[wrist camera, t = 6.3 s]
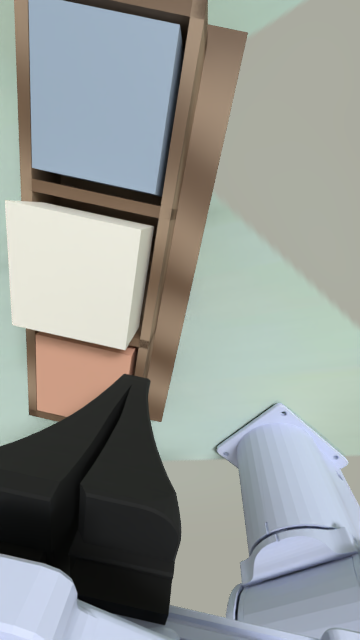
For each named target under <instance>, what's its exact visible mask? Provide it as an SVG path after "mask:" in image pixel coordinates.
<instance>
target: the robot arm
mask: <svg viewBox="0 0 360 640" xmlns="http://www.w3.org/2000/svg"><path fill="white" fill-rule="evenodd" d="M150 382H151V381H150V380H149V379H148V378H143V377H138V376H134V375H129V374H123V375H122V376H121V377H120V378H119V379H118V380H116V381H115V382H114V383H113V384H112V385H111V386H110V387H109V388H107V389H106V390H105V391H104V392H102V393H101V394H100V395H99V396H98V397H96V398H95V399H94V400H92V401H91V402H89V403H88V404H87V405H85V406H84V407H82V408H81V409H79V410H78V411H76V412H75V413H73V414H72V415H70V416H68V417H67V418H65V419H63V420H61V421H59V422H57V423H56V424H54V425H52V426H50V427H48V428H46V429H44V430H42V431H39V432H37V433H35V434H32V435H30V436H28V437H25V438H23V439H20V440H18V441H15V442H12V443H9V444H6V445H3V446H0V640H360V506H359V505H358V503H357V501H356V499H355V497H354V495H353V493H352V491H351V489H350V487H349V485H348V483H347V481H346V479H345V478H344V476H343V474H342V472H341V470H340V469H341V468H343V467H345V466H346V465H347V464H348V461H347V459H346V458H345V457H344V456H343V455H342V454H341V453H339V452H338V451H337V450H336V449H335V448H334V447H332V446H331V445H330V444H329V443H328V442H327V441H325V440H324V439H323V438H322V437H321V436H320V435H318V434H317V433H316V432H315V431H314V430H313V429H311V428H310V427H309V426H308V425H307V424H306V423H304V422H303V421H302V420H301V419H300V418H299V417H297V416H296V415H295V414H294V413H293V412H292V411H290V410H289V409H288V408H287V407H286V406H285V405H283V404H281V403H277V404H275V405H274V406H272V407H271V408H269V409H268V410H267V411H265V412H264V413H262V414H261V415H260V416H258V417H257V418H256V419H254V420H253V421H251V422H250V423H249V424H247V425H246V426H244V427H243V428H242V429H240V430H239V431H238V432H236V433H235V434H233V435H232V436H231V437H229V438H228V439H226V440H225V441H224V442H222V443H221V444H220V445H218V446H217V452H218V454H220V455H221V456H222V457H224V458H225V459H226V460H228V461H229V462H230V463H232V464H233V465H234V466H236V467H237V468H238V469H239V476H240V484H241V493H242V501H243V508H244V517H245V525H246V533H247V542H248V549H249V558H247V559H246V560H244V561H241V562H240V568H241V577H242V583H240V584H238V585H237V586H236V587H235V588H234V589H233V590H232V592H231V594H230V597H229V601H228V605H227V612H226V618H225V617H219V616H216V615H211V614H207V613H202V612H198V611H193V610H189V609H185V608H181V607H176V606H172V605H170V594H171V583H172V579H173V574H174V564H175V558H176V555H177V551H178V548H179V544H180V541H181V520H180V513H179V507H178V501H177V496H176V492H175V490H174V488H173V486H172V484H171V482H170V480H169V478H168V476H167V474H166V471H165V469H164V466H163V464H162V461H161V458H160V455H159V453H158V450H157V447H156V443H155V440H154V436H153V432H152V427H151V421H150V415H149V404H148V394H149V388H150ZM283 411H285V413H281V412H283ZM225 452H227V453H225Z"/></svg>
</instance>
